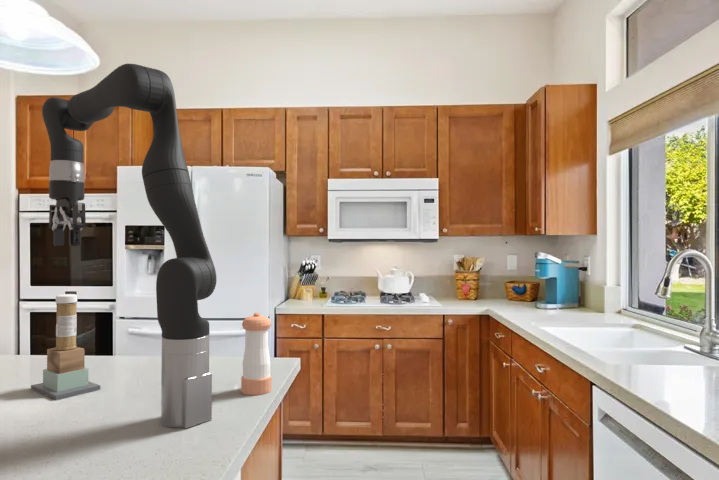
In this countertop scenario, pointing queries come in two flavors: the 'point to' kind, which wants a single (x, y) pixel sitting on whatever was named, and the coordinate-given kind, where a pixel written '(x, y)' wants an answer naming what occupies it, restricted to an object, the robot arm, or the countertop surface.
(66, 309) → the sprinkles bottle
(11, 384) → the countertop surface
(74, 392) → the build plate
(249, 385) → the salt shaker
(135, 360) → the countertop surface
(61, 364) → the walnut brick
